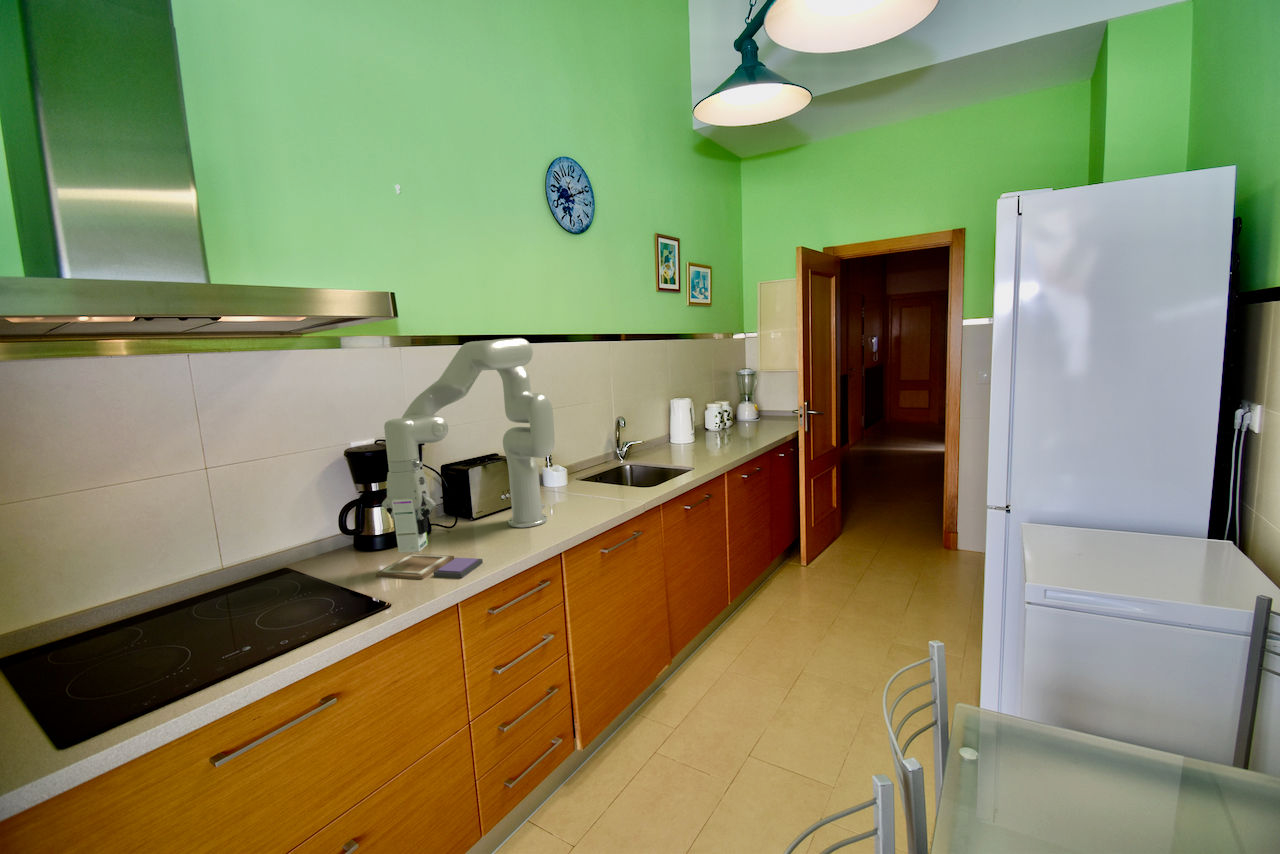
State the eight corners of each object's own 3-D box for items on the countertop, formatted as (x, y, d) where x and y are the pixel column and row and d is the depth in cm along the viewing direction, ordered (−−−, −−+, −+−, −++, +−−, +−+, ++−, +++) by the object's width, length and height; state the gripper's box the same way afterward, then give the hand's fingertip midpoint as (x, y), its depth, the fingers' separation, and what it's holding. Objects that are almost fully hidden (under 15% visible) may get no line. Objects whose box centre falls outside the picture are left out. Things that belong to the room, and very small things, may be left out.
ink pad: (433, 576, 142) (433, 571, 142) (456, 561, 152) (455, 556, 151) (461, 578, 140) (461, 572, 140) (482, 563, 149) (482, 557, 149)
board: (410, 556, 158) (410, 552, 158) (454, 558, 154) (453, 554, 154) (375, 576, 144) (375, 572, 144) (422, 579, 141) (421, 575, 140)
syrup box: (419, 552, 145) (413, 498, 143) (397, 553, 145) (391, 499, 143) (428, 544, 151) (422, 492, 149) (407, 545, 151) (401, 493, 149)
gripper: (442, 463, 147) (448, 529, 149) (386, 463, 151) (393, 526, 154) (424, 469, 139) (431, 538, 142) (366, 469, 144) (374, 535, 146)
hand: (411, 531), depth 148 cm, fingers closed on syrup box, 6 cm apart
